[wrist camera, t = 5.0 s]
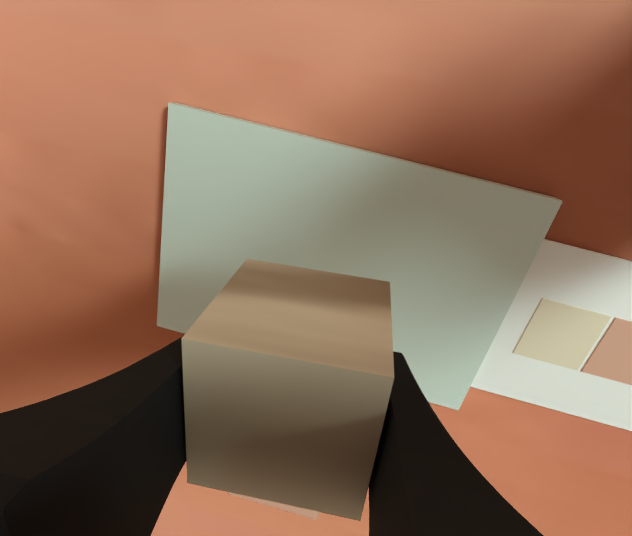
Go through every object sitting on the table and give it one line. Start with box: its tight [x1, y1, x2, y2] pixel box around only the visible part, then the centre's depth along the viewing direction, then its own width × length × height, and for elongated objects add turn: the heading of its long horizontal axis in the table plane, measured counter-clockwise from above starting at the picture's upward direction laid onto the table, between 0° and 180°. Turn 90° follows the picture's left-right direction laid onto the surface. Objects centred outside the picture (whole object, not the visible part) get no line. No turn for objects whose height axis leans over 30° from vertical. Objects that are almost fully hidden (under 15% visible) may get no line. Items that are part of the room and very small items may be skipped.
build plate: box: [157, 103, 563, 410], centre depth 18 cm, size 11×16×1 cm
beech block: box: [181, 259, 394, 521], centre depth 11 cm, size 4×4×4 cm
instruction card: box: [470, 239, 632, 431], centre depth 18 cm, size 8×11×1 cm
